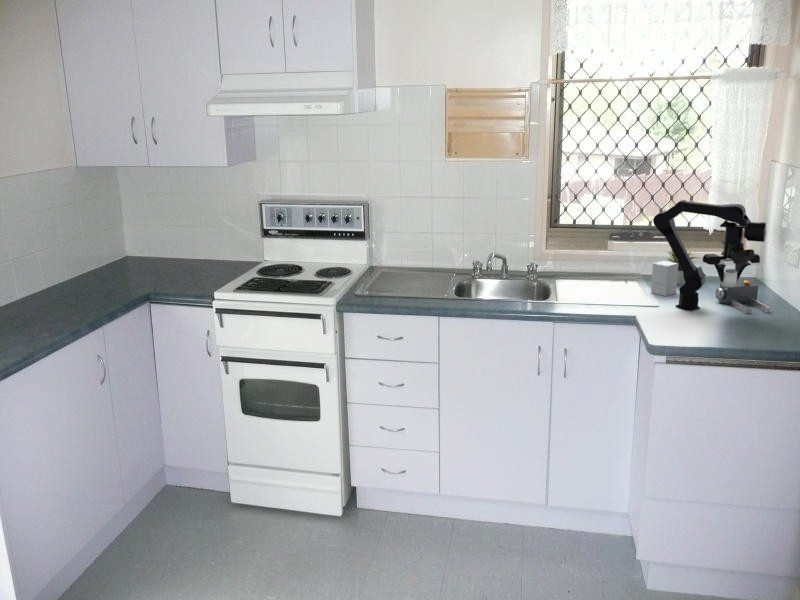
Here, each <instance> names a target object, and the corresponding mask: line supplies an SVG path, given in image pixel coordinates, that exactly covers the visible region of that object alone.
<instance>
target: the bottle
mask: <svg viewBox="0 0 800 600" xmlns="http://www.w3.org/2000/svg"><path fill="white" fill-rule="evenodd" d="M736 282H738V281H737V271H735V268H724V279H723V282H721V281H720V283H721V285H722V286H724V287H736Z"/></svg>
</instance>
